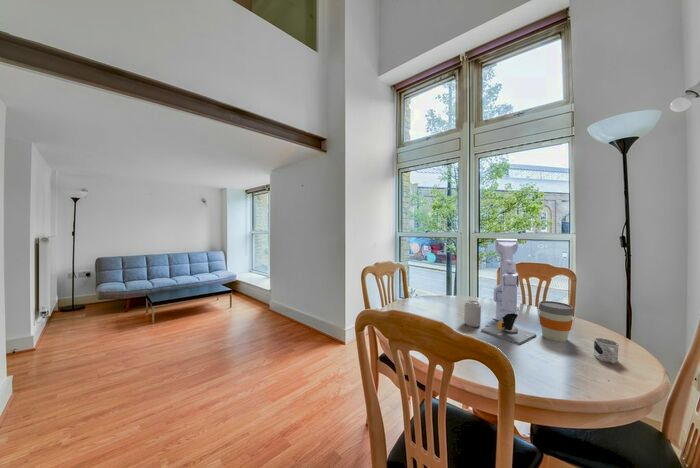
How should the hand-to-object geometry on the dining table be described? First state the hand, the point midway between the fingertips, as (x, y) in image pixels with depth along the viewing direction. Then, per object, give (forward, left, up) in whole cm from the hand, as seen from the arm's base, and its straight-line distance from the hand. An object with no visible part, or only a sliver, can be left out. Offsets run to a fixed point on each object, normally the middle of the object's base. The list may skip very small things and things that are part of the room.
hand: (508, 329), depth 120 cm
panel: (-3, -2, -3) cm, 5 cm away
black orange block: (-3, -2, -2) cm, 5 cm away
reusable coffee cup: (-17, +12, -4) cm, 21 cm away
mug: (-10, +31, -4) cm, 33 cm away
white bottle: (+1, -17, -4) cm, 18 cm away
